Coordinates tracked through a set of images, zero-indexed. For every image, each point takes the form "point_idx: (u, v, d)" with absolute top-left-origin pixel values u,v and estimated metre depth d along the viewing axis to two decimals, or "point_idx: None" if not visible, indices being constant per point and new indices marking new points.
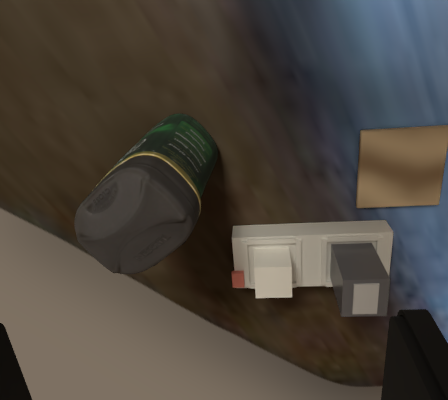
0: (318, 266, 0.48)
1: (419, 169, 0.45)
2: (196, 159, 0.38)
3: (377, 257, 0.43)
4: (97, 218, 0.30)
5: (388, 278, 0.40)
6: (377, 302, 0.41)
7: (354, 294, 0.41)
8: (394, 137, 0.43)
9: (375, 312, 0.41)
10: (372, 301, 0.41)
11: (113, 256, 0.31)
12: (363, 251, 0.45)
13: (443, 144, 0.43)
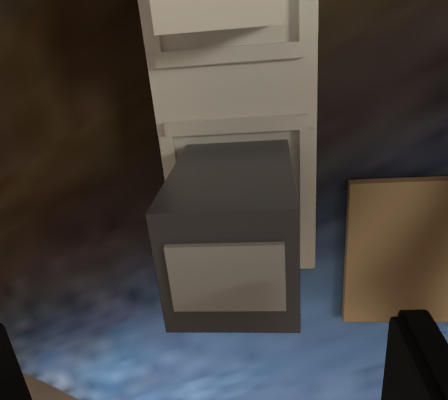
0: (216, 112, 0.18)
1: (424, 286, 0.23)
2: None
3: None
4: None
5: (299, 326, 0.13)
6: (217, 310, 0.13)
7: (246, 248, 0.12)
8: None
9: (179, 307, 0.13)
10: (220, 298, 0.13)
11: None
12: None
13: None
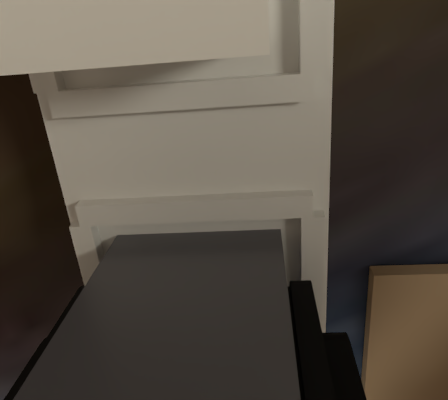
0: (161, 186, 0.11)
1: None
2: None
3: None
4: None
5: None
6: None
7: None
8: None
9: None
10: None
11: None
12: None
13: None
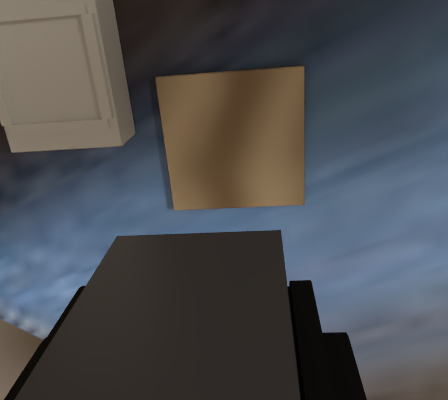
0: (15, 2, 0.22)
1: (233, 172, 0.27)
2: None
3: None
4: None
5: None
6: None
7: None
8: (289, 124, 0.26)
9: None
10: None
11: None
12: None
13: (275, 200, 0.28)
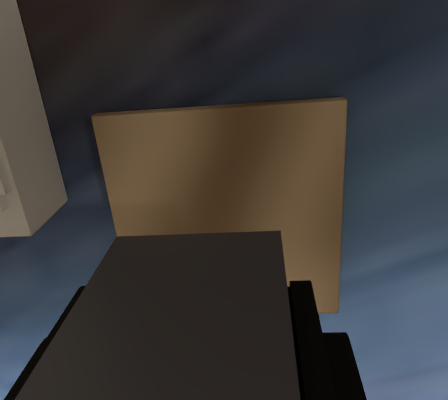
0: None
1: None
2: None
3: None
4: None
5: None
6: None
7: None
8: (318, 194, 0.15)
9: None
10: None
11: None
12: None
13: None
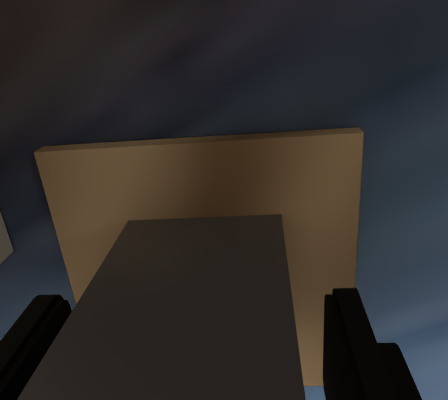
0: None
1: None
2: None
3: None
4: None
5: None
6: None
7: None
8: (326, 248, 0.12)
9: None
10: None
11: None
12: None
13: None
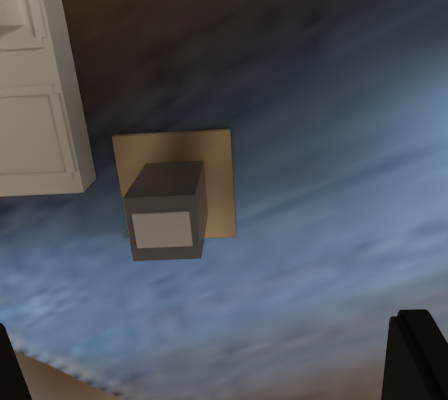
0: None
1: None
2: None
3: (205, 228, 0.30)
4: None
5: (200, 255, 0.27)
6: (158, 247, 0.26)
7: (171, 214, 0.25)
8: (221, 174, 0.32)
9: (139, 246, 0.26)
10: (160, 240, 0.26)
11: None
12: (205, 207, 0.31)
13: (212, 233, 0.34)
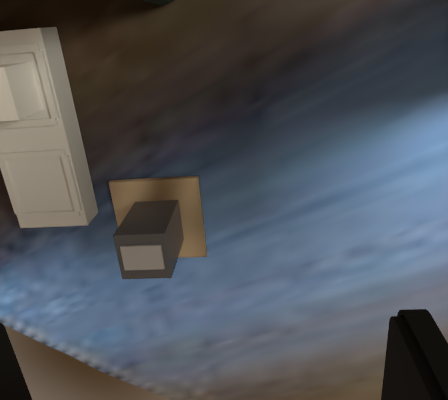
0: (23, 148, 0.37)
1: None
2: None
3: (178, 253, 0.40)
4: None
5: (171, 275, 0.37)
6: (140, 269, 0.36)
7: (148, 246, 0.35)
8: (192, 209, 0.41)
9: (126, 268, 0.36)
10: (140, 264, 0.36)
11: None
12: (179, 236, 0.41)
13: (188, 253, 0.44)
